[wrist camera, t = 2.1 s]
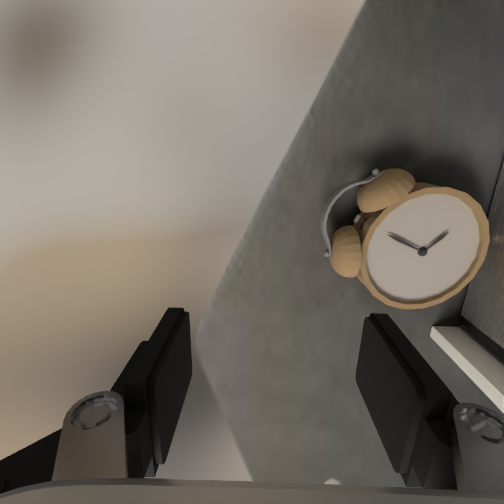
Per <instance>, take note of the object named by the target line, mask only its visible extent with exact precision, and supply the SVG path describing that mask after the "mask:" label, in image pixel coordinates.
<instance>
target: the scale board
mask: <svg viewBox="0 0 504 504" xmlns="http://www.w3.org/2000/svg"><path fill="white" fill-rule="evenodd" d="M430 336H431V338H432V339H433V340H434V341H435V342H436V343H437V344H438V345H439V346H440V347H441V348H442V349H443V350H444V351H445V352H446V353H447V354H448V355H449V356H450V357H451V359H452V360H453V361H454V362H455V363H456V364H457V365H458V366H459V367H460V368H461V369H462V370H463V371H464V372H465V373H466V374H467V375H468V376H469V377H470V378H471V379H472V381H473V382H474V383H475V384H476V385H477V386H478V387H479V388H480V389H481V390H482V391H483V392H484V393H485V394H486V395H487V396H488V397H489V398H490V399H491V400H492V401H493V403H494V404H495V405H496V406H497V407H498V408H499V409H500V410H501V411H502V412H503V413H504V358H503V357H502V356H501V355H499V354H498V353H497V352H496V351H495V350H493V349H492V348H491V347H490V346H488V345H487V344H486V343H485V342H484V341H482V340H481V339H480V338H479V337H478V336H476V335H475V334H474V333H473V332H471V331H470V330H469V329H468V328H467V327H465V326H464V325H458V327H447V326H432V329H431V333H430Z"/></svg>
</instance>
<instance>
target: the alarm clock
mask: <svg viewBox="0 0 504 504" xmlns="http://www.w3.org/2000/svg"><path fill="white" fill-rule="evenodd" d="M360 184H363V185H362V186H361V187H360V189H359V191H358V194H357V204H358V207H359V209H360V210H361V213H360V214H359V215H358V214H357V215H356V217H355V219H354V220H353V222H354V225H353V226H351V225H348V226H343V227H341V228H339V229H338V230H336V231H335V232H334V233H333V235H332V237H331V239H330V241H329V239H328V236H327V232H326V222H327V218H328V214H329V212H330V209H331V207H332V206H333V204H334V203H335V201H336V200H337V199H338V198H339V197H340V196H341V195H342V194H343V193H344V192H345V191H347V190H348V189H350V188H352V187H354V186H357V185H360ZM320 223H321V231H322V234H323V236H324V239H325V242H326V246H327V250H326V251H324V256H326V257H329V260H330V263H331V265H332V267H333V269H334V270H335V271H336V272H337V273H338V274H340V275H341V276H344V277H355V276H357V277H358V279H359V280H360V281H361V283H363V284H364V285H365V286H366V287H367V288H368V289H369V291H370V292H371V294H372V295H373V296H374V297H376V298H377V299H379V300H380V301H382V302H383V303H385V304H386V305H389V306H393V307H397V308H401V309H423V308H426V307H429V306H433V305H436V304H439V303H442V302H443V301H445V300H447V299H448V298H450V297H452V296H453V295H455V294H457V293H458V292H460V291H461V290H462V289H463V288H464V287H465V286H466V285H467V284H468V283H469V282H470V281H471V280H472V279H473V278H474V276H475V275H476V273H477V271H478V270H479V268H480V267H481V265H482V263H483V262H484V260H485V256H486V253H487V249H488V245H489V242H490V236H489V222H488V219H487V217H486V215H485V213H484V211H483V209H482V207H481V205H480V204H479V203H478V202H476V201H475V200H474V199H473V198H472V197H471V196H469V195H468V194H467V193H465V192H462V191H459V190H455V189H452V188H449V187H442V186H437V185H432V184H429V183H425V182H422V183H415V179H414V178H413V176H412V175H411V174H410V173H409V172H407V171H405V170H403V169H398V168H391V169H387V170H383V171H381V172H380V171H379V170H378V169H377V168H375V169H373V170H372V175H371V176H369V177H367V178H365V179H363V180H357V181H352V182H349V183H347V184H345V185H343V186H341V187H340V188H338V189H337V190H336V191H335V192H334V193H333V194H332V195H331V197H330V198H329V199H328V201H327V202H326V204H325V206H324V209H323V211H322V215H321V219H320Z"/></svg>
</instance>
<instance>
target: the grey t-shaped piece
mask: <svg viewBox="0 0 504 504" xmlns="http://www.w3.org/2000/svg"><path fill="white" fill-rule="evenodd" d="M487 219H488V222H489V236H490V242H489V245H488V249H487V253H486V256H485V260H484V262H483V263H482V265H481V267H480V268H479V270H478V271H477V273H476V275H475V276H474V278H473V279H472V280H471V281H470V283H469V287H468V290H467V294H466V298H465V301H464V305H463V308H462V312H461V315H462V316H463V318H462V322H461V323H462V324H463V325H464V326H465V327H467V328H468V329H469V330H470V331H471V332H473V333H474V334H475V335H476V336H478V337H479V338H480V339H481V340H482V341H484V342H485V343H486V344H487V345H488V346H490V347H491V348H492V349H493V350H495V351H496V352H497V353H498V354H499V355H501V356H502V357H503V358H504V161H503V164H502V168H501V171H500V175H499V179H498V182H497V186H496V189H495V193H494V197H493V200H492V204H491V207H490V211H489V215H488V218H487Z"/></svg>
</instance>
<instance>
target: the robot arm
mask: <svg viewBox="0 0 504 504" xmlns="http://www.w3.org/2000/svg"><path fill="white" fill-rule="evenodd" d="M191 376H192V358H191V339H190V321H189V312H184V308H168V309H167V311H166V312H165V314H164V316H163V317H162V319H161V321H160V322H159V324H158V326H157V327H156V329H155V331H154V332H153V334H152V336H151V337H150V339H149V340H148V341H142V342H141V343H140V345H139V346H138V348H137V349H136V351H135V352H134V354H133V355H132V357H131V359H130V360H129V362H128V363H127V365H126V367H125V368H124V369H123V371H122V373H121V374H120V376H119V377H118V379H117V380H116V382H115V384H114V385H113V387H112V388H111V390H110V391H100V392H95V393H92V394H90V395H87V396H85V397H84V398H82V399H80V400H79V401H77V402H76V403H75V404H74V405H73V406H72V407H71V408H70V409H69V410H68V412H67V413H66V415H65V418H64V421H63V426H62V428H61V429H60V430H58V431H56V432H54V433H52V434H50V435H48V436H46V437H44V438H42V439H40V440H39V441H37V442H35V443H33V444H31V445H29V446H27V447H26V448H23V449H21V450H19V451H17V452H16V453H14V454H12V455H10V456H8V457H6V458H4V459H2V460H0V504H504V417H502V416H501V415H500V414H498V413H496V412H494V411H492V410H491V409H488V408H486V407H483V406H481V405H477V404H473V403H461V404H460V403H459V402H458V401H457V400H456V398H455V397H454V396H453V395H452V392H451V391H450V390H449V389H448V388H447V386H446V385H445V384H444V383H443V381H442V380H441V379H440V378H439V377H438V375H437V374H436V373H435V372H434V370H433V369H432V368H431V367H430V366H429V364H428V363H427V362H426V361H425V359H424V358H423V357H422V356H421V355H420V353H419V352H418V351H417V350H416V348H415V347H414V346H413V345H412V344H411V342H410V341H409V340H408V339H407V337H406V336H405V335H404V334H403V333H402V331H401V330H400V329H399V328H398V326H397V325H396V324H395V323H394V321H393V320H392V319H391V318H390V317H389V315H388V314H377V313H371V314H370V316H369V317H366V318H365V320H364V326H363V332H362V338H361V345H360V351H359V357H358V363H357V370H356V382H357V385H358V387H359V390H360V392H361V394H362V397H363V399H364V401H365V404H366V406H367V408H368V411H369V413H370V415H371V418H372V420H373V422H374V425H375V427H376V429H377V431H378V434H379V436H380V438H381V441H382V443H383V445H384V448H385V450H386V452H387V455H388V457H389V459H390V462H391V464H392V466H393V468H394V470H395V472H396V473H400V474H401V476H402V478H403V480H404V482H405V485H406V487H423V488H424V489H423V488H401V487H378V486H355V485H329V484H305V483H278V482H251V481H219V480H187V479H154V478H152V479H151V478H144V477H155V475H156V472H157V469H158V466H159V464H164V463H165V461H166V458H167V455H168V452H169V448H170V445H171V442H172V438H173V435H174V432H175V429H176V426H177V422H178V419H179V416H180V413H181V409H182V406H183V403H184V400H185V396H186V393H187V390H188V387H189V383H190V380H191Z"/></svg>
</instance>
